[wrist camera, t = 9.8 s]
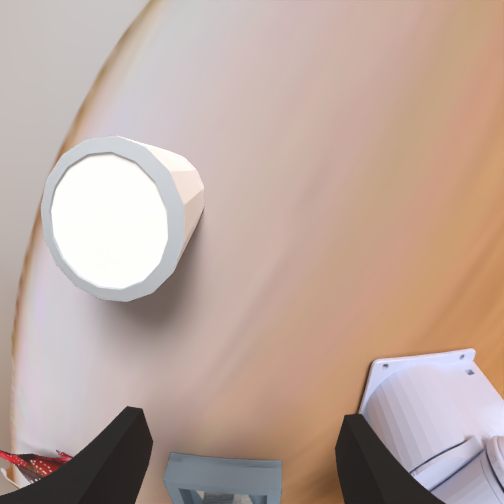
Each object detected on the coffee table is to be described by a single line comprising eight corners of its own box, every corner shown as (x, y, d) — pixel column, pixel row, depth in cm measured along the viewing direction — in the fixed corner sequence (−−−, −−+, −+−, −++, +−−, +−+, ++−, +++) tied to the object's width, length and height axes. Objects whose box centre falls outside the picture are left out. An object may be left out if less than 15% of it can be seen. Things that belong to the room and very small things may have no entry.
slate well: (281, 460, 25) (282, 489, 21) (275, 508, 28) (275, 531, 25) (171, 452, 25) (162, 479, 22) (187, 501, 29) (182, 524, 25)
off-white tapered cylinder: (177, 274, 20) (136, 332, 13) (92, 213, 19) (22, 243, 12) (239, 181, 18) (221, 199, 11) (143, 118, 17) (80, 105, 10)
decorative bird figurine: (124, 484, 29) (101, 546, 19) (7, 422, 28) (-27, 469, 18) (125, 475, 28) (100, 541, 18) (3, 410, 27) (-35, 458, 17)
